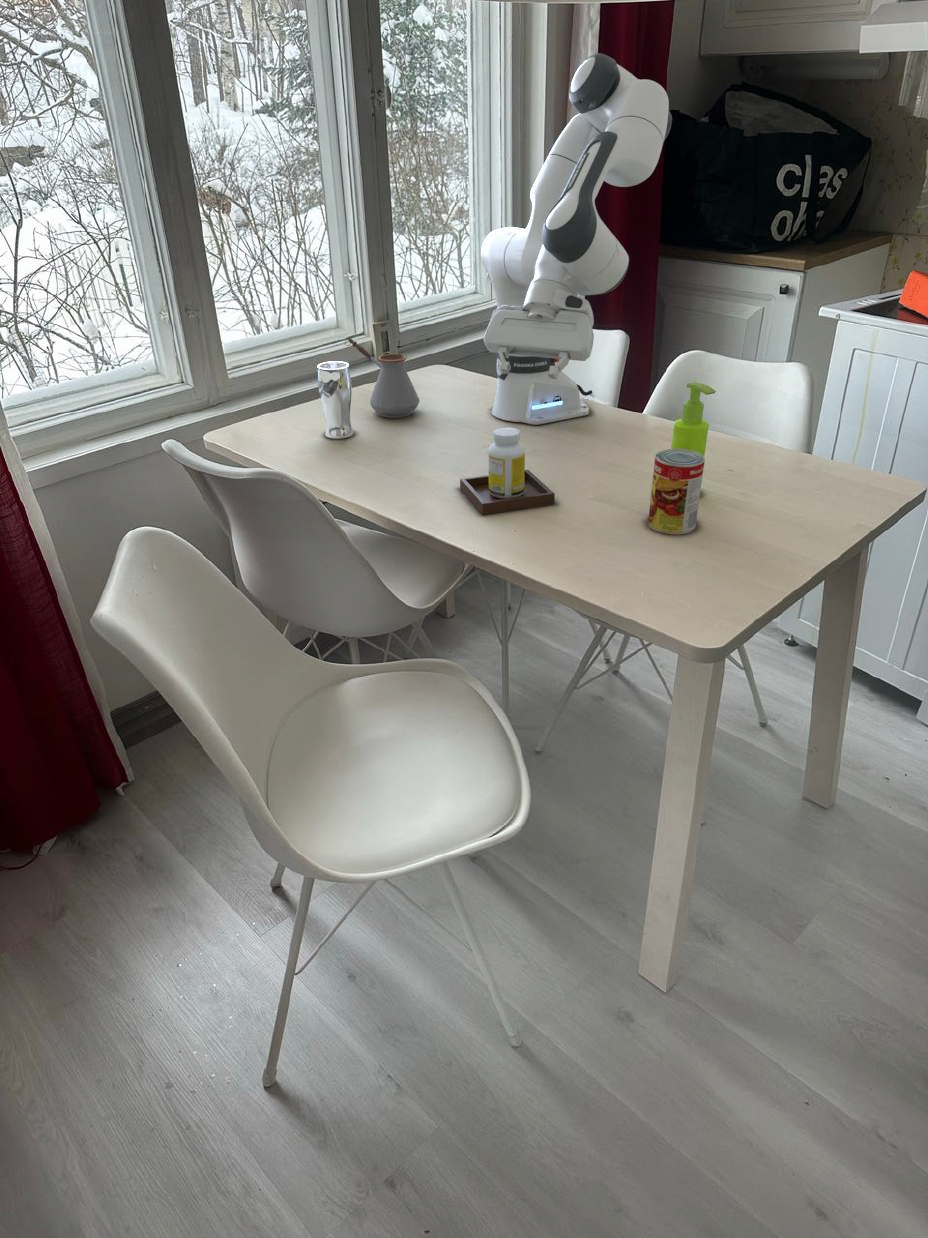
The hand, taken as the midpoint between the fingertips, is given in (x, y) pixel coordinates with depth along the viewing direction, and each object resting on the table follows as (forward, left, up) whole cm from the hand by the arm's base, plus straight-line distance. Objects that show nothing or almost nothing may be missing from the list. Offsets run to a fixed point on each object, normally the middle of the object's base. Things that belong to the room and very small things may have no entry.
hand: (527, 374), depth 156 cm
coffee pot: (+16, -51, -19) cm, 57 cm away
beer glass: (+29, -36, -19) cm, 50 cm away
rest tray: (+7, +9, -19) cm, 23 cm away
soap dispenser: (-23, +19, -19) cm, 36 cm away
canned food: (-15, +30, -19) cm, 39 cm away
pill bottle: (+7, +9, -19) cm, 22 cm away
